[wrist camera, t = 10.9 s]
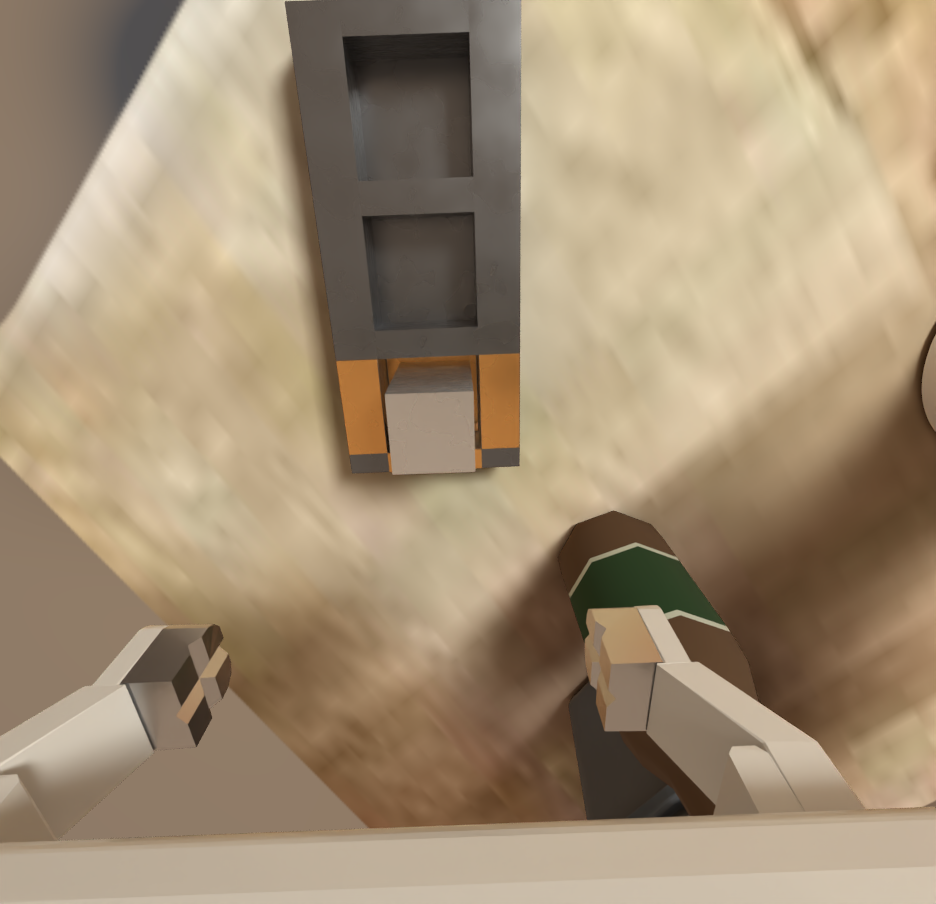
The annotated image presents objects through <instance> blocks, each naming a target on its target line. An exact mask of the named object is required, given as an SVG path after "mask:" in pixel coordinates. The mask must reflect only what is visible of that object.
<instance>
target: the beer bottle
mask: <svg viewBox="0 0 936 904" xmlns="http://www.w3.org/2000/svg"><path fill="white" fill-rule="evenodd" d="M558 560H559V564H560V569H561V573H562V576H563V579H564V582H565V585H566V588H567V591H568V594H569V597H570V600H571V603H572V606H573V609H574V612H575V615H576V619H577V622H578V625H579V628H580V631H581V634H582V637H583V640H584V643H585V639H586V638H587V636H588V635H589V631H588V628H587V624H586V619H587V612H588V609H598V608H619V607H634V606H648V605H657V606H659V607H660V608H661V609H662V611H663V613H664V615H665V616H666V618H667V620H668V622H669V623H670V625H671V627H672V629H673V631H674V632H675V634H676V636H677V638H678V639H679V641H680V643H681V645H682V646H683V648H684V650H685V652H686V654H687V655H688V657H689V659H690V661H691V662H699V663H701V664H702V665H704V666H705V667H707V668H708V669H710V670H711V671H713V672H714V673H716V674H717V675H719V676H720V677H722V678H723V679H725V680H726V681H728V682H729V683H731V684H732V685H734V686H735V687H737V688H738V689H740V690H741V691H743V692H744V693H746V694H747V695H749V696H750V697H752V698H753V699H754V700H756V701H757V702H758V698H757V694H756V690H755V686H754V682H753V678H752V675H751V671H750V667H749V663H748V661H747V659H746V657H745V656H744V654H743V652H742V650H741V649H740V647H739V645H738V644H737V642H736V640H735V639H734V637H733V635H732V634H731V632H730V631H729V629H728V628H727V626H726V625H725V624H724V622H723V621H722V619H721V618H720V617H719V615H718V614H717V613H716V611H715V610H714V608H713V607H712V606H711V604H710V603H709V601H708V600H707V599H706V597H705V596H704V595H703V593H702V592H701V590H700V589H699V588H698V586H697V585H696V583H695V582H694V581H693V579H692V578H691V576H690V575H689V574H688V572H687V571H686V570H685V568H684V567H683V565H682V564H681V563H680V561H679V560H678V558H677V557H676V556H675V554H674V553H673V552H672V550H671V549H670V547H669V546H668V545H667V543H666V542H665V540H664V539H663V538H662V536H661V535H660V534H659V533H658V532H657V531H656V529H655V528H654V527H653V526H652V525H651V524H649V523H646V522H643V521H641V520H638V519H635V518H633V517H630V516H627V515H624V514H622V513H619V512H616V511H611V512H609V513H606V514H603V515H600V516H598V517H595V518H592V519H589V520H587V521H584V522H581V523H578V524H576V526H575V528H574V529H573V531H572V533H571V535H570V537H569V538H568V540H567V542H566V544H565V545H564V547H563V549H562V551H561V552H560V554H559V556H558ZM619 733H620V735H621V737H622V740H623V742H624V743H625V744H626V746H627V747H628V748H629V749H630V751H631V752H632V753H633V755H634V756H635V757H636V758H637V760H638V761H639V762H640V763H641V765H642V766H643V767H644V768H646V769H647V770H648V771H650V772H651V773H652V774H654V775H655V776H656V777H658V778H659V779H660V780H662V781H663V782H665V783H666V784H667V785H669V786H670V787H671V788H673V789H674V791H675V793H676V794H677V796H678V798H679V799H680V801H681V803H682V804H683V806H684V808H685V809H686V811H687V813H688V814H689V816H706V815H713V814H714V810H715V806H716V805H715V804H714V803H713V802H712V801H711V800H710V799H709V798H708V797H707V796H706V795H705V794H704V793H703V791H702V790H701V789H700V788H699V787H698V786H697V785H696V784H695V783H694V782H693V781H692V780H691V779H690V778H689V777H688V776H687V775H686V774H685V773H684V772H683V771H682V770H681V769H680V768H679V766H678V765H677V764H676V763H675V762H674V761H673V760H672V759H671V758H670V757H669V756H668V755H667V754H666V753H665V752H664V751H663V750H662V749H661V748H660V747H659V746H658V745H657V744H656V743H655V741H654V740H653V739H652V738H651V737H650V736H649V735H648V734H647V731H619Z"/></svg>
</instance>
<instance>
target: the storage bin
mask: <svg viewBox="0 0 936 904" xmlns="http://www.w3.org/2000/svg"><path fill="white" fill-rule="evenodd" d="M596 694H597V690H596V689H595V688H594V687H593V686H592V685H590V681H589V682H588V683H587V684H586V685H585V686H584V687H583V688H582V689H581V690H580V691H579V692H578V693H577V694H576V695H575V696H574V697H573V698H572V699H571V701H570V703H569V712H570V718H571V724H572V730H573V736H574V742H575V748H576V755H577V761H578V767H579V773H580V779H581V785H582V791H583V797H584V804H585V810H586V816H587V820H601V819H627V818H654V817H680V816H689V814H688V813H687V811H686V809H685V808H684V806H683V804H682V803H681V801H680V799H679V798H678V796H677V794H676V793H675V791H674V789H673V788H671V787H670V786H669V785H667V784H666V783H665V782H663V781H662V780H660V779H659V778H658V777H656V776H655V775H654V774H652V773H651V772H650V771H648V770H647V769H646V768H644V767H643V766H642V765H641V763H640V762H639V761H638V760H637V758H636V757H635V756H634V755H633V753H632V752H631V751H630V749H629V748H628V747H627V746H626V744H625V743H624V742H623V740H622V737H621V735H620V733H619V731H604V728H603V725H602V721H601V718H600V715H599V711H598V708H597V705H596Z"/></svg>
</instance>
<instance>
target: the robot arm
mask: <svg viewBox="0 0 936 904" xmlns="http://www.w3.org/2000/svg"><path fill="white" fill-rule="evenodd" d="M922 401H923V406H924V410H925V413H926V416H927V418H928V421H929V422H930V424H931V426H932V427H933V429H934V430H935V432H936V335H935V337H934V339H933V341H932V344H931V346H930V349H929V352H928V355H927V358H926V361H925V366H924V370H923V377H922ZM586 624H587V628H588V631H589V635H588V636H587V638H586V639H585V663H586V669H587V674H588V678H589V681H590V685H592V686H593V687H594V688H595V689H596V690H597V694H596V705H597V708H598V711H599V715H600V718H601V721H602V725H603V728H604V731H647V734H648V735H649V736H650V737H651V738H652V739H653V740H654V741H655V743H656V744H657V745H658V746H659V747H660V748H661V749H662V750H663V751H664V752H665V753H666V754H667V755H668V756H669V757H670V758H671V759H672V760H673V761H674V762H675V763H676V764H677V765H678V766H679V768H680V769H681V770H682V771H683V772H684V773H685V774H686V775H687V776H688V777H689V778H690V779H691V780H692V781H693V782H694V783H695V784H696V785H697V786H698V787H699V788H700V789H701V790H702V791H703V793H704V794H705V795H706V796H707V797H708V798H709V799H710V800H711V801H712V802H713V803H714V804H715V805H716V806H715V810H714V814H713V815H706V816H680V817H654V818H627V819H601V820H575V821H549V822H524V823H499V824H474V825H449V826H423V827H398V828H371V829H345V830H320V831H319V830H318V831H295V832H294V831H292V832H266V833H240V834H214V835H187V836H163V837H137V838H136V837H135V838H110V839H84V840H61V841H60V840H59V839H60V838H61V837H62V836H63V835H64V834H65V833H67V832H68V831H69V830H70V829H71V828H72V827H73V826H74V825H75V824H77V823H78V822H79V821H80V820H81V819H82V818H83V817H84V816H85V815H86V814H88V812H90V811H91V810H92V809H93V808H94V807H95V806H96V805H97V804H98V803H100V802H101V801H102V800H103V799H104V798H105V797H106V796H107V795H108V794H109V793H111V792H112V791H113V790H114V789H115V788H116V787H117V786H118V785H119V784H120V783H122V781H124V780H125V779H126V778H127V777H128V776H129V775H130V774H131V773H133V772H134V771H135V770H136V769H137V768H138V767H139V766H140V765H141V764H142V763H143V762H145V761H146V760H147V759H148V758H149V757H150V756H151V755H152V754H153V753H154V750H166V749H180V748H195V747H197V745H198V743H199V741H200V740H201V737H202V736H203V734H204V732H205V730H206V728H207V727H208V725H209V723H210V721H211V719H212V716H211V712H210V708H211V707H213V706H214V705H215V704H217V703H218V702H219V701H220V700H222V698H223V696H224V694H225V692H226V690H227V688H228V685H229V681H230V677H231V661H230V657H229V654H228V653H227V652H226V651H225V650H224V649H222V648H221V647H220V646H219V645H220V643H221V642H222V640H223V635H222V632H221V629H220V626H217V625H215V624H188V625H158V626H156V625H155V626H146V627H144V628H142V629H140V630H139V631H138V632H137V633H136V635H135V636H134V637H133V638H132V639H131V640H130V642H129V643H128V644H127V645H126V646H125V647H124V649H123V650H122V651H121V652H120V654H119V655H118V656H117V657H116V658H115V659H114V660H113V662H112V663H111V664H110V665H109V666H108V667H107V669H106V670H105V671H104V672H103V673H102V674H101V676H100V677H99V678H98V679H97V680H96V682H95V683H94V684H93V685H92V686H84V687H82V688H81V689H79V690H77V691H75V692H74V693H72V694H70V695H69V696H67V697H65V698H64V699H62V700H61V701H59V702H57V703H56V704H54V705H52V706H50V707H49V708H47V709H46V710H44V711H42V712H40V713H39V714H37V715H36V716H34V717H32V718H31V719H29V720H27V721H25V722H24V723H22V724H20V725H19V726H17V727H15V728H14V729H12V730H10V731H9V732H7V733H5V734H4V735H2V736H0V904H936V807H915V808H890V809H865V807H864V806H863V804H862V803H861V802H860V800H859V799H858V798H857V796H856V795H855V793H854V792H853V791H852V789H851V788H850V786H849V785H848V784H847V782H846V781H845V779H844V778H843V777H842V775H841V774H840V773H839V771H838V770H837V768H836V767H835V766H834V764H833V763H832V761H831V760H830V759H829V757H828V756H827V755H826V753H825V752H824V750H823V749H822V748H821V746H820V745H819V743H818V742H817V741H816V740H814V739H813V738H811V737H810V736H808V735H807V734H805V733H804V732H802V731H801V730H799V729H798V728H796V727H795V726H793V725H792V724H790V723H789V722H787V721H786V720H784V719H783V718H781V717H780V716H778V715H777V714H775V713H774V712H772V711H771V710H769V709H768V708H766V707H765V706H763V705H762V704H760V703H759V702H757V701H756V700H754V699H753V698H752V697H750V696H749V695H747V694H746V693H744V692H743V691H741V690H740V689H738V688H737V687H735V686H734V685H732V684H731V683H729V682H728V681H726V680H725V679H723V678H722V677H720V676H719V675H717V674H716V673H714V672H713V671H711V670H710V669H708V668H707V667H705V666H704V665H702V664H701V663H699V662H691V661H690V659H689V657H688V655H687V654H686V652H685V650H684V648H683V646H682V645H681V643H680V641H679V639H678V638H677V636H676V634H675V632H674V631H673V629H672V627H671V625H670V623H669V622H668V620H667V618H666V616H665V615H664V613H663V611H662V609H661V608H660V607H659V606H657V605H648V606H634V607H619V608H598V609H588V612H587V619H586Z"/></svg>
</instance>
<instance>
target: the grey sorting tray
mask: <svg viewBox="0 0 936 904" xmlns="http://www.w3.org/2000/svg"><path fill="white" fill-rule="evenodd" d="M285 7H286V14H287V21H288V28H289V35H290V42H291V49H292V56H293V63H294V70H295V77H296V84H297V91H298V98H299V105H300V112H301V119H302V126H303V133H304V140H305V147H306V154H307V161H308V168H309V175H310V182H311V189H312V196H313V203H314V210H315V217H316V224H317V231H318V238H319V245H320V252H321V259H322V266H323V273H324V280H325V287H326V294H327V301H328V308H329V315H330V322H331V329H332V336H333V343H334V350H335V357H336V364H337V371H338V378H339V385H340V392H341V399H342V406H343V413H344V420H345V427H346V434H347V441H348V448H349V455H350V462H351V469H352V473H373V472H392V465H391V455H390V444H389V434H388V424H387V413H386V403H385V393H386V391H387V389H388V387H389V384H390V382H391V380H392V378H393V376H394V374H395V372H396V370H397V368H398V366H399V364H400V363H405V362H436V361H466V360H470V367H471V375H472V383H473V391H474V432H475V468H487V467H510V466H519V453H520V190H521V0H312V1H285Z"/></svg>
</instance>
